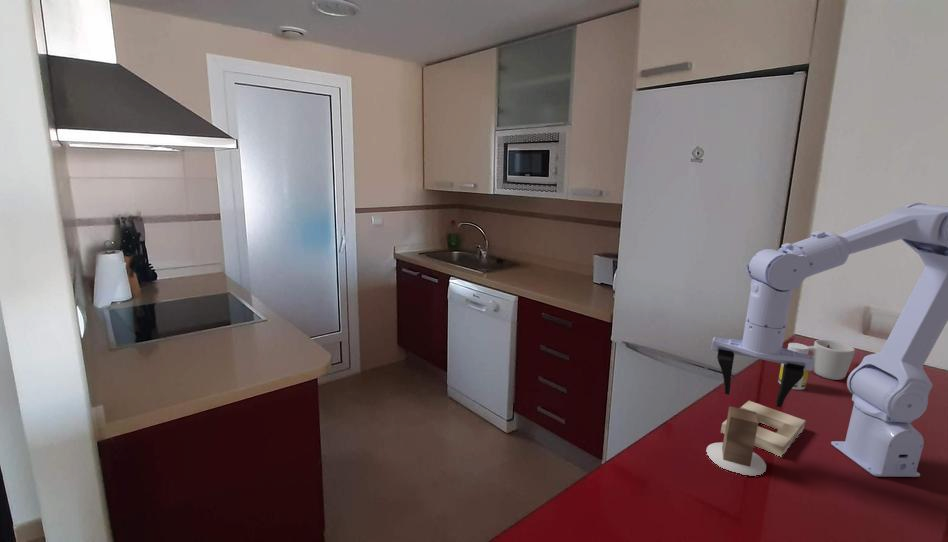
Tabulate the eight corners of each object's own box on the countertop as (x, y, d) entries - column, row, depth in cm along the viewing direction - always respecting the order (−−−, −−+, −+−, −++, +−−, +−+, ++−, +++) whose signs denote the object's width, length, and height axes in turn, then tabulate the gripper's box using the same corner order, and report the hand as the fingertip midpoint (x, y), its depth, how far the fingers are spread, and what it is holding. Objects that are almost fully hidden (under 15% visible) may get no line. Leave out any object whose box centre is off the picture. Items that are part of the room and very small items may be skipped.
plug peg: (748, 453, 82) (755, 412, 80) (750, 466, 78) (758, 423, 76) (722, 447, 83) (729, 406, 81) (723, 459, 80) (730, 416, 78)
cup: (802, 377, 114) (808, 347, 112) (791, 365, 122) (796, 336, 120) (854, 385, 111) (861, 353, 109) (839, 371, 119) (846, 341, 117)
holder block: (803, 429, 91) (805, 420, 90) (781, 457, 81) (783, 447, 81) (747, 409, 98) (748, 400, 97) (720, 432, 89) (722, 423, 88)
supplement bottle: (796, 380, 112) (804, 342, 110) (810, 391, 107) (818, 351, 105) (773, 379, 113) (780, 340, 111) (785, 389, 108) (793, 349, 105)
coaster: (778, 476, 76) (778, 474, 76) (724, 476, 76) (724, 474, 76) (745, 444, 85) (745, 442, 85) (696, 444, 85) (696, 442, 85)
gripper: (817, 324, 77) (801, 400, 80) (718, 309, 85) (708, 378, 88) (821, 337, 71) (804, 418, 74) (715, 319, 79) (703, 393, 82)
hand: (752, 398), depth 81 cm, fingers open, 7 cm apart
